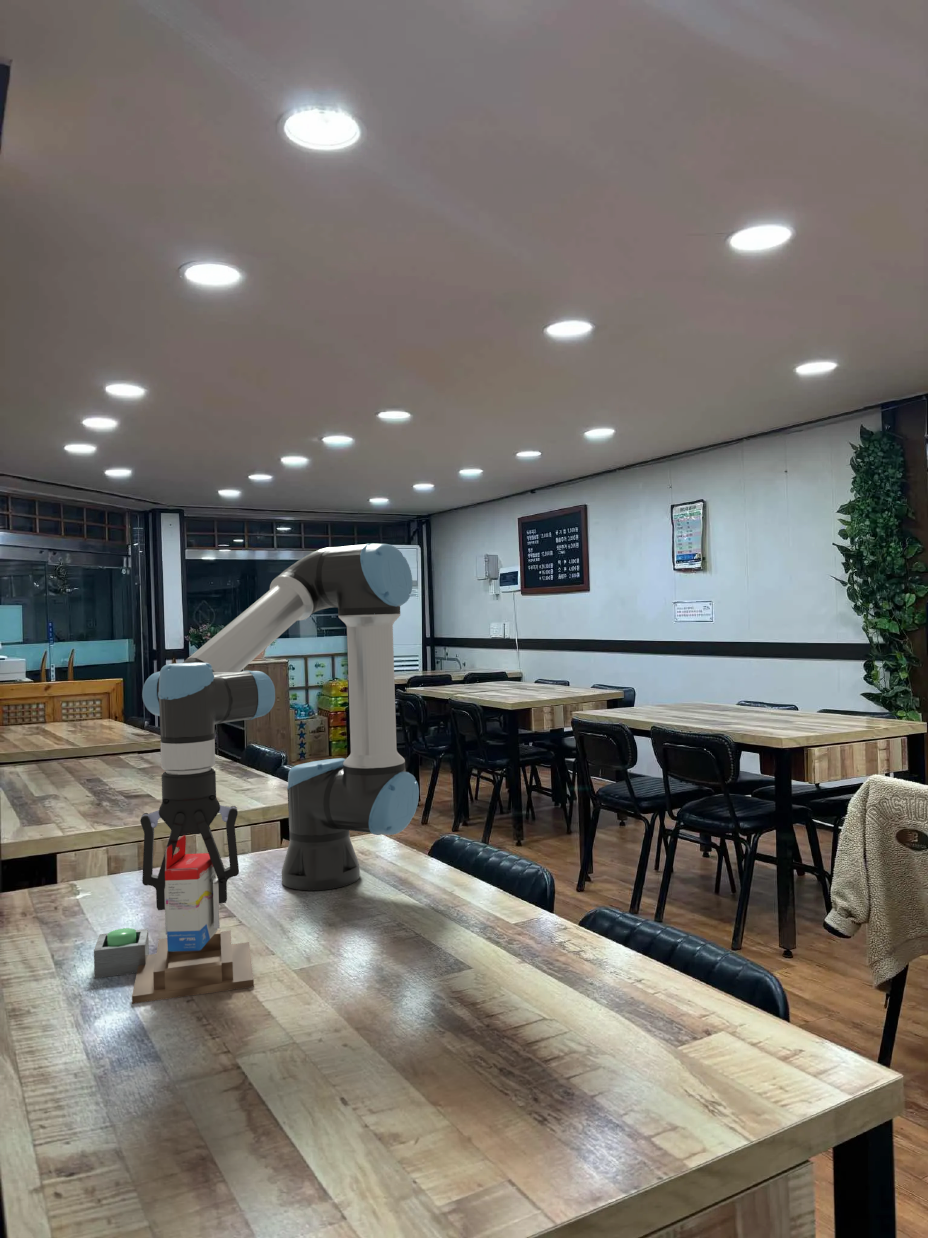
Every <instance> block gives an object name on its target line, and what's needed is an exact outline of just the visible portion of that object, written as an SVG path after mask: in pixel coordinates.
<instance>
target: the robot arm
mask: <svg viewBox="0 0 928 1238" xmlns="http://www.w3.org/2000/svg"><path fill="white" fill-rule="evenodd" d="M412 591H413V573H412V569H411V567H410V564H409V562H408V561H407V558H406V557H405V555H403V552H402V551H401V550H400V549H399V548H397V547H395V546H394V545H391V544H388V543H374V542H372V543H365V544H354V545H344V546H328V547H324V548H320V549H318V550H317V549H316V551H312V552H310V553H309V554H307V555H306V556H305V555H304V556H303V558H300V559H299V560H297V561H296V562H295V563H293V564H292V565H290V566H289V567H287V568H286V569H284V570H283V571H282V572H281V573H280V574H279V575H277V576H276V577H275V578H274V579H273V580H272V581H271V583H270V584H269V590H268V591H266V593H264V594H263V595H262V596H261V597H260V598H258V599H257V600H256V601H255V602H254V603H252V604H251V605H249V607H248V608H246V609H245V610H244V611H242V612H241V613H240V614H239V615H238V616H237V617H235V618H234V619H233V620H232V621H230V622H229V623H228V624H227V625H226V626H224V627H223V628H222V629H221V630H219V631H218V633H216V634H215V635H214V636H213V637H212V638H210V639H209V640H207V641H206V642H205V643H204V644H203V645H202V646H201V647H200V648H198V649H197V650H196V651H195V652H194V653H192V654H191V655H190V656H189V657H187V658H186V659H185V660H183V662H181V663H170V664H169V663H168V664H165V665H163V666H162V667H161V669H160V671H156V672H153V673H152V674H151V675H149V676H148V678H147V679H146V680H145V682H144V684H143V686H142V694H141V695H142V696H141V697H142V702H143V703H144V706H145V708H146V710H147V711H148V712H150V713H151V714H152V715H154V716H157V717H159V729H160V768H161V769H162V770H164V772H163V773H162V774H161V805H160V806H159V808H158V810H155V811H153V812H150V813H147V812H145V813H142V815H141V817H140V820H139V822H140V824H141V827H142V830H143V833H144V834H143V838H144V839H143V856H142V857H143V859H142V879H141V882H142V885H143V886H151V887H154V889H155V896H156V897H155V899H156V902H155V903H156V909H157V911H164V918H165V919H164V920H165V921H164V924H165V935H167V915H166V890H165V852H166V848H167V847H168V846H170V845H171V844H172V858H173V855H174V854H175V851H176V849H177V847H176V845H177V842H178V839H179V837H182V836H183V835H185V836H186V835H189V834H192V835H201V838H202V841H203V842H204V845H205V848H206V851H207V853H209V856H210V859H211V862H212V864H213V867H214V870H215V873H216V879H213V901H214V929H220V927H221V924H220V904H226V903H227V900H228V885H227V883H228V880H229V879H232V878H234V877H238V876H239V874H240V867H239V859H238V856H239V855H238V847H237V846H238V845H237V837H236V835H237V834H236V827H235V825H236V821H237V818H238V807H236V806H235V805H232V806H231V805H230V806H227V805H222V804H221V803H220V801H219V800H218V798H217V781H216V780H217V776H216V773H217V772H216V770H215V769H214V768H212V767H213V766H215V765H216V748H215V747H216V744H215V743H216V742H215V741H216V739H215V729H216V728H215V725H219V724H225V723H230V722H239V721H245V720H247V721H248V720H249V721H252V720H254V719H257V718H260V717H264V716H266V715H267V714H269V713H270V711H271V710H272V708H273V707H274V705H275V702H276V688H275V685H274V682H273V681H272V679H271V677H270V675H268V674H266V672H263V671H262V670H261V671H259V670H244V669H245V668H246V667H247V666H248V665H249V664H250V663H251V662H252V661H253V660H255V659H256V658H257V657H258V656H259V655H260V654H261V653H262V652H264V650H266V649H267V648H268V647H269V646H271V644H273V642H275V641H276V640H277V639H279V637H280V636H281V635H282V634H284V633H285V632H286V631H287V630H288V629H289V628H290V627H291V626H292V625H293V624H295V623H296V622H297V621H304V620H307V619H308V618H309V617H311V615H312V614H314V613H316V612H319V611H321V610H325V609H329V608H330V609H331V608H337V611H338V613H337V615H338V619H339V620H341V621H342V622H343V623H344V624H345V626H346V637H347V639H346V641H347V668H348V669H347V671H348V672H347V673H348V698H349V699H348V701H349V702H348V703H349V706H348V707H349V734H350V738H349V739H350V741H349V742H350V754H349V755H348V757H347V756H346V758H343V757H341V758H338V757H337V758H330V759H329V758H328V759H322V760H320V759H319V760H313V761H310V762H309V761H308V762H305V763H300V764H297V765H294V766H293V767H291V768H290V769H289V771H288V775H287V777H288V778H287V787H286V789H287V805H288V807H287V809H288V810H287V811H288V826H289V827H288V828H289V843H288V846H287V851H286V854H285V857H284V860H283V865H282V867H281V884H282V885H283V886H285V887H286V888H288V889H293V890H299V891H323V890H331V889H337V888H342V887H345V886H348V885H350V884H351V885H352V884H353V883H356V881H358V880H359V879H360V875H361V872H360V871H361V869H360V863H359V860H358V857H357V854H356V851H355V848H354V846H353V843H352V840H351V837H350V836H351V835H350V834H351V833H350V832H359V833H367V834H372V835H376V836H381V835H387V836H394V835H398V834H399V833H401V832H402V831H404V830H405V829H406V828H407V827H408V826H409V824H410V823H411V821H412V820H413V818H414V816H415V813H416V811H417V807H418V804H419V796H420V788H419V783H418V781H417V780H416V777H415V776H414V775H413V774H412V773H410V772H409V771H406V759H405V758H404V757H403V756H402V755H401V754H400V753H399V752H398V749H397V719H396V695H395V694H396V691H395V690H396V688H395V661H394V660H395V659H394V658H395V657H394V656H395V654H394V627H393V626H394V624H395V622H396V621H397V620H398V619H399V618H400V616H401V606H403V605H404V604H406V603H407V602H408V601H409V599H410V597H411V596H410V594H412ZM242 670H243V671H242ZM218 814H220V815H221V820H222V821H223V823H224V822H225V828H226V829H225V830H226V831H225V832H226V838H227V849H228V850H227V852H228V859H229V860H228V861H229V867H226V868H225V866H224V863H223V860H222V858H221V854H220V852H219V849H218V846H217V844H216V841H215V838H214V835H213V833H212V829H211V824H212V823H213V821H214V820H215V818H216V817H217V815H218ZM159 819H161V820H162V821H163V822H164V823H165V824H166V826H167V827H168V828H169V829H170V834H169V837H168V839H167V844H166V847H165V850H164V854H163V858H162V861H161V865H160V867H159V871H158V875H156V874H153V872H154V871H153V870H154V869H153V867H154V845H155V844H154V843H155V828H157V826H158V825H159V822H158V821H159ZM175 848H176V849H175Z"/></svg>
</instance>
